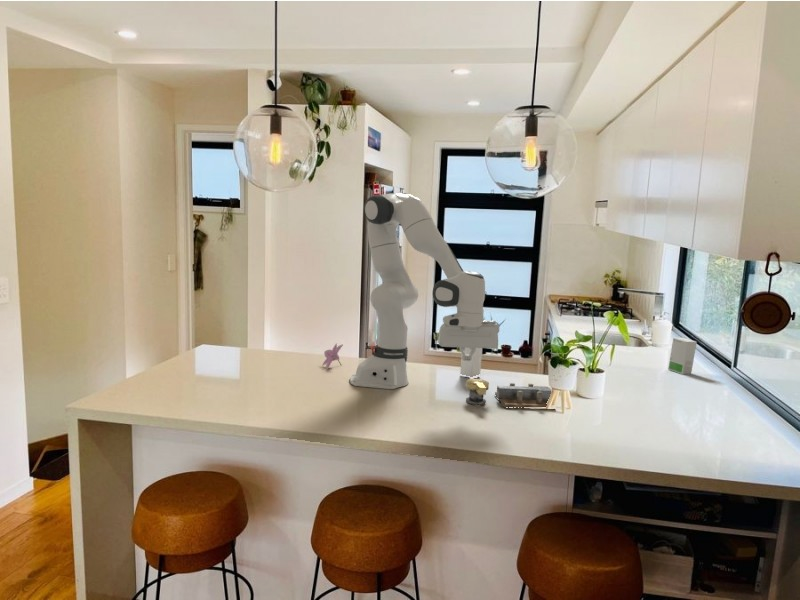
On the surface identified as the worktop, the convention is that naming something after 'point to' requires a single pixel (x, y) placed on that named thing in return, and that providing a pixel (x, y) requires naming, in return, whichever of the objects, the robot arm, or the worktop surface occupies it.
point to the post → (475, 398)
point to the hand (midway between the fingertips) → (466, 360)
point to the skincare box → (682, 355)
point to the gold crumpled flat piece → (477, 385)
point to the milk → (471, 363)
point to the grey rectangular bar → (528, 392)
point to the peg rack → (523, 403)
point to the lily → (332, 355)
